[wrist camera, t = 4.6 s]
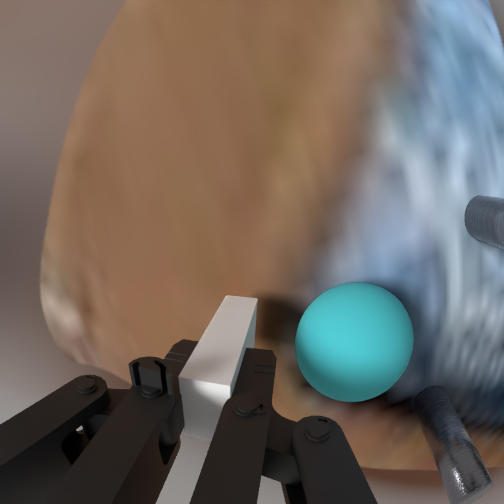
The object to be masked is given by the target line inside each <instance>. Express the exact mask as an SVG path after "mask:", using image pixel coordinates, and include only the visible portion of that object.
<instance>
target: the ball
mask: <svg viewBox="0 0 504 504" xmlns="http://www.w3.org/2000/svg"><path fill="white" fill-rule="evenodd" d="M413 344H414V334H413V327H412V323H411V320H410V317H409V315H408V313H407V311H406V309H405V307H404V306H403V304H402V303H401V302H400V301H399V300H398V299H397V298H396V297H395V296H394V295H393V294H392V293H390V292H389V291H387V290H386V289H384V288H381V287H379V286H376V285H373V284H370V283H364V282H353V283H345V284H341V285H338V286H336V287H333V288H331V289H329V290H327V291H325V292H324V293H322V294H321V295H320V296H319V297H317V298H316V299H315V300H314V301H313V302H312V303H311V304H310V305H309V307H308V308H307V309H306V311H305V312H304V314H303V316H302V318H301V320H300V322H299V325H298V328H297V333H296V337H295V353H296V358H297V362H298V365H299V367H300V370H301V372H302V374H303V375H304V377H305V378H306V380H307V381H308V382H309V383H310V385H311V386H313V387H314V388H315V389H316V390H317V391H319V392H320V393H322V394H323V395H325V396H327V397H330V398H332V399H335V400H339V401H346V402H357V401H363V400H367V399H370V398H373V397H376V396H378V395H380V394H382V393H383V392H385V391H386V390H388V389H389V388H390V387H392V386H393V385H394V384H395V383H396V382H397V381H398V380H399V378H400V377H401V376H402V374H403V373H404V371H405V369H406V368H407V366H408V364H409V361H410V358H411V355H412V351H413Z"/></svg>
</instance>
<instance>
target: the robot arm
mask: <svg viewBox="0 0 504 504" xmlns="http://www.w3.org/2000/svg"><path fill="white" fill-rule="evenodd" d="M257 301H258V298H248V297H239V296H230V295H226V296H225V298H224V300H223V302H222V303H221V305H220V307H219V308H218V310H217V312H216V313H215V315H214V317H213V319H212V320H211V322H210V324H209V325H208V327H207V329H206V330H205V332H204V334H203V336H202V337H201V339H200V341H199V342H197V341H191V340H185V339H183V340H181V341H179V342H178V343H176V344H174V345H173V347H172V348H171V350H170V351H169V353H168V354H167V355H166V356H165V359H161V358H158V357H141V358H138V359H135V360H133V361H132V362H131V363H129V369H130V375H131V380H132V387H131V388H130V389H109V388H107V384H106V381H105V380H103V379H102V378H101V377H98V376H96V375H83V376H79V377H77V378H75V379H74V380H72V381H70V382H68V383H67V384H65V385H64V386H62V387H60V388H59V389H57V390H56V391H54V392H52V393H51V394H49V395H48V396H46V397H44V398H43V399H41V400H40V401H38V402H36V403H35V404H33V405H32V406H30V407H28V408H26V409H25V410H23V411H22V412H20V413H18V414H17V415H15V416H13V417H12V418H10V419H9V420H7V421H5V422H4V423H2V424H0V504H155V503H156V501H157V499H158V497H159V494H160V492H161V490H162V488H163V485H164V483H165V481H166V479H167V476H168V474H169V472H170V469H171V467H172V465H173V463H174V460H175V458H176V456H177V454H178V451H179V449H180V444H181V441H180V435H181V432H182V430H183V428H184V431H185V436H186V437H190V438H195V439H199V440H204V441H210V442H211V444H210V447H209V450H208V453H207V456H206V458H205V461H204V464H203V467H202V470H201V473H200V475H199V479H198V481H197V484H196V487H195V490H194V492H193V496H192V498H191V501H190V504H257V498H258V492H259V486H260V480H261V475H263V476H265V477H268V478H271V479H273V480H276V481H279V482H281V485H282V490H283V494H284V497H285V502H286V504H377V501H376V500H375V497H374V495H373V493H372V491H371V489H370V487H369V485H368V483H367V481H366V478H365V476H364V474H363V472H362V470H361V468H360V466H359V464H358V462H357V460H356V458H355V456H354V454H353V451H352V449H351V447H350V445H349V443H348V441H347V439H346V437H345V435H344V433H343V431H342V429H341V427H340V426H339V425H338V424H337V422H335V421H333V420H332V419H330V418H327V417H323V416H309V417H305V418H303V419H301V420H300V421H298V422H295V421H292V420H289V419H286V418H284V417H282V416H281V415H279V414H278V413H277V412H276V411H275V410H274V408H273V406H272V394H273V385H274V377H275V368H276V359H277V358H276V356H275V355H274V353H273V351H272V350H264V349H255V348H254V342H255V329H256V315H257ZM81 425H82V427H83V429H82V430H81V431H76V429H77V428H78V427H80V426H81Z"/></svg>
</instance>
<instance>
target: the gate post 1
mask: <svg viewBox="0 0 504 504" xmlns="http://www.w3.org/2000/svg"><path fill="white" fill-rule="evenodd" d="M412 408H413V411H414V413H415V415H416V417H417V420H418V422H419V424H420V427H421V429H422V431H423V434H424V436H425V438H426V441H427V443H428V446H429V448H430V451H431V453H432V456H433V458H434V461H435V463H436V466H437V469H438V471H439V474H440V477H441V479H442V482H443V485H444V488H445V491H446V493H447V496H448V499H449V502H450V504H471V503H472V502H474V501H476V500H477V499H479V498H480V497H482V496H483V495H484V494H485V493H486V492H488V491H489V490H490V489H491V487H492V486H493V481H492V479H491V477H490V475H489V473H488V470H487V468H486V466H485V464H484V462H483V460H482V458H481V456H480V454H479V452H478V451H477V449H476V447H475V445H474V443H473V441H472V439H471V437H470V436H469V434H468V432H467V430H466V428H465V427H464V425H463V423H462V421H461V419H460V418H459V416H458V414H457V413H456V411H455V409H454V407H453V406H452V404H451V402H450V401H449V399H448V397H447V396H446V394H445V392H444V391H443V389H442V388H441V387H439V386H432V387H429V388H426V389H425V390H423V391H422V392H420V393H419V394H418V395H417V396H416V398H415V399H414V401H413V404H412Z"/></svg>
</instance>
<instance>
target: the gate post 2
mask: <svg viewBox="0 0 504 504" xmlns="http://www.w3.org/2000/svg"><path fill="white" fill-rule="evenodd" d="M465 225H466V229H467V231H468V233H469V234H470V235H471V236H472V237H473V238H475V239H478V240H481V241H483V242H486V243H488V244H491V245H494V246H496V247H499V248H501V249H504V199H503V198H496V197H489V196H481V195H479V196H476V197H474V198H472V199H471V201H470V202H469V203H468V205H467V208H466V211H465Z"/></svg>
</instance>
